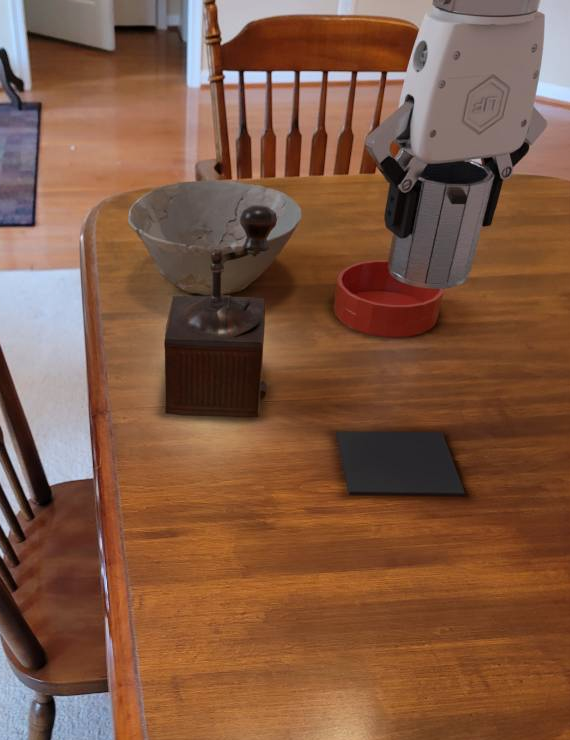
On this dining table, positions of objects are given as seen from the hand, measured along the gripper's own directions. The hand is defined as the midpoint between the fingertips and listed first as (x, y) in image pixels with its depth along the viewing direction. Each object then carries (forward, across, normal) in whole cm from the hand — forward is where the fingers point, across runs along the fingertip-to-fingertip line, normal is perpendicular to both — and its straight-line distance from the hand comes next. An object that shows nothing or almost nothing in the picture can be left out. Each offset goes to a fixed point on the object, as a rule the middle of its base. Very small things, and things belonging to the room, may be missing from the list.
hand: (437, 225), depth 74 cm
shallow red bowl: (+22, +11, +23) cm, 33 cm away
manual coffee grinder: (+22, -15, +14) cm, 30 cm away
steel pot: (+4, 0, 0) cm, 4 cm away
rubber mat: (+22, -3, -6) cm, 23 cm away
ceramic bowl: (+22, -7, +38) cm, 45 cm away
